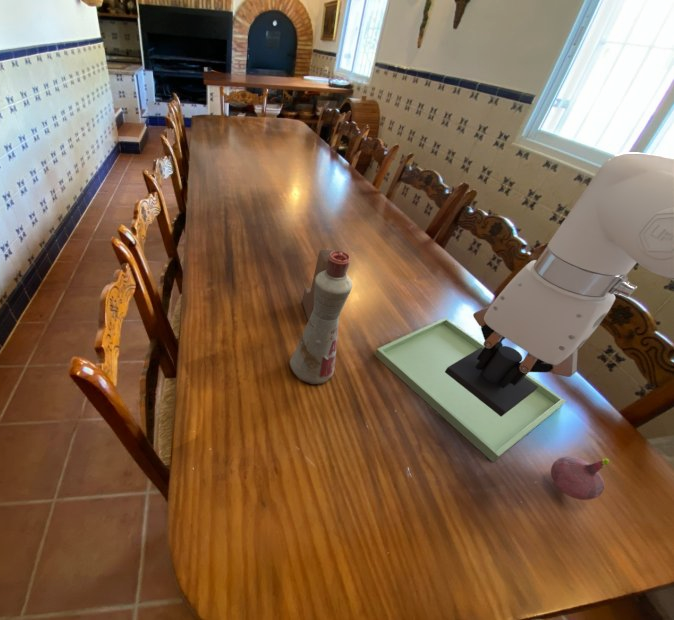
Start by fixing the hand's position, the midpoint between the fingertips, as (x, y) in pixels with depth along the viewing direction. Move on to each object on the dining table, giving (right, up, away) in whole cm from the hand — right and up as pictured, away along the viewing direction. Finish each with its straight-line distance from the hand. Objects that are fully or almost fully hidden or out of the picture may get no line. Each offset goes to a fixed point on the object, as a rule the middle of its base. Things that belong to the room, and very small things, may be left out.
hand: (494, 373), depth 53 cm
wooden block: (-20, +8, +35) cm, 42 cm away
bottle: (-24, -3, +21) cm, 32 cm away
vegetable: (+14, -20, +5) cm, 25 cm away
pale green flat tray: (+8, -5, +22) cm, 24 cm away
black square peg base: (0, -1, +1) cm, 2 cm away
